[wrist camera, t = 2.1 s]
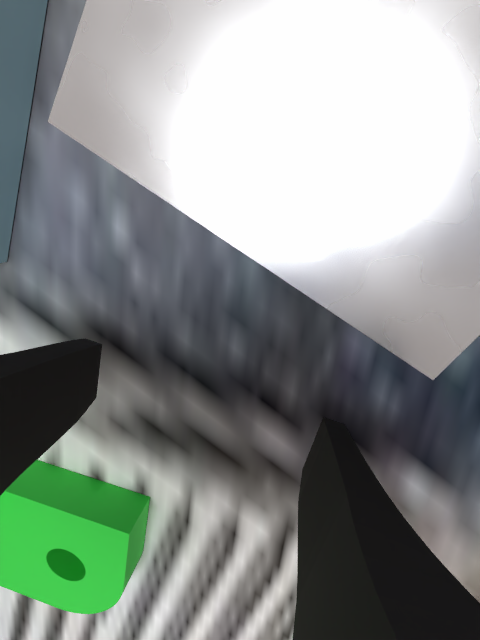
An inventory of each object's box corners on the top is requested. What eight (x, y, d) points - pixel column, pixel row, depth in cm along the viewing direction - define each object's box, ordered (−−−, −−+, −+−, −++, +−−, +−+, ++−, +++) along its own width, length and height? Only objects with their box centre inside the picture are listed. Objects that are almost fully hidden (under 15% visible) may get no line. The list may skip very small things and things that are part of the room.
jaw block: (604, 97, 8) (785, 36, 5) (399, 326, 11) (432, 380, 8) (248, -146, 8) (204, -367, 5) (128, 143, 11) (47, 122, 8)
